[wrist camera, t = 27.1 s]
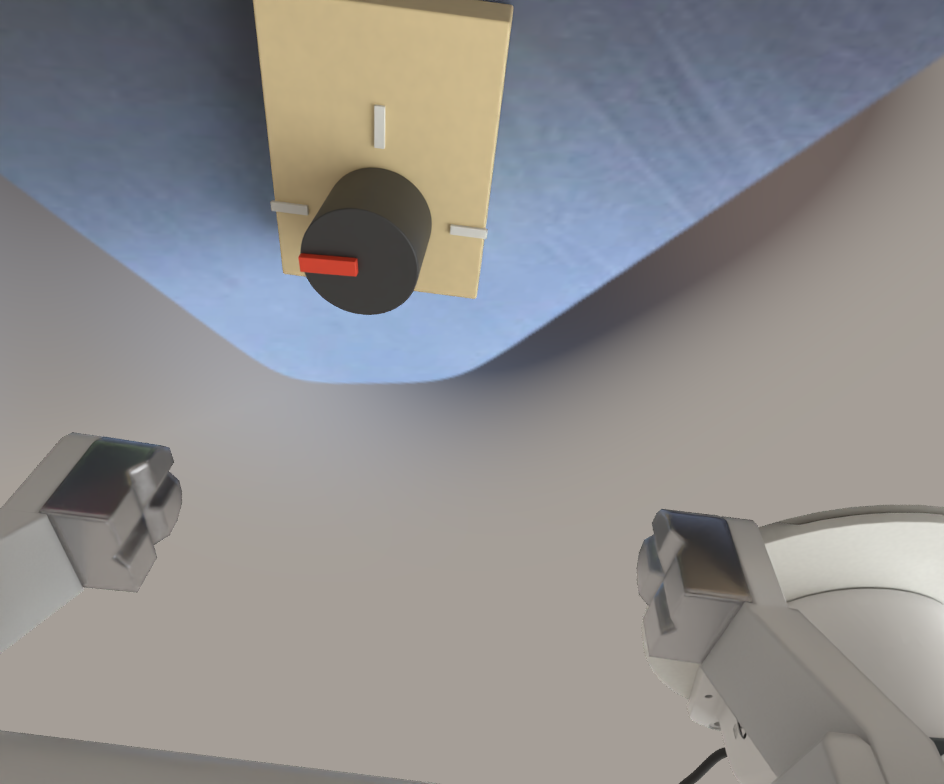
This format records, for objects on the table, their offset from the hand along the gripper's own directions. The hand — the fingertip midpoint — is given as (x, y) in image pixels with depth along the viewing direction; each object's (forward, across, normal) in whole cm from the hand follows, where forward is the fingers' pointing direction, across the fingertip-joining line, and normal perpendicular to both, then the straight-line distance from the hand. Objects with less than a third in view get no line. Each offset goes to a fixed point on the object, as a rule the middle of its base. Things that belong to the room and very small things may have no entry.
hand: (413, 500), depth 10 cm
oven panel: (+18, +3, 0) cm, 18 cm away
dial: (+15, +3, +2) cm, 16 cm away
